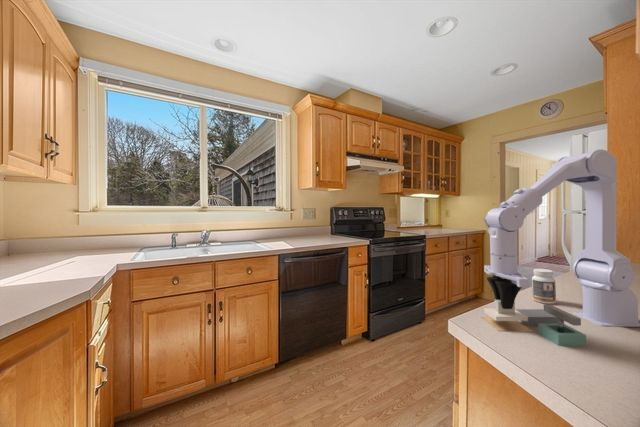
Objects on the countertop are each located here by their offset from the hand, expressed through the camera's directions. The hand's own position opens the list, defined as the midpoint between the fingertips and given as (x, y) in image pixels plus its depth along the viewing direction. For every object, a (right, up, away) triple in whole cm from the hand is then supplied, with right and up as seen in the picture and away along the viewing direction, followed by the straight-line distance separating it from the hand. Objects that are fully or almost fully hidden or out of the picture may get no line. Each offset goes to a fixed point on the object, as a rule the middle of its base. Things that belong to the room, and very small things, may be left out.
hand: (504, 306), depth 66 cm
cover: (0, -2, 0) cm, 2 cm away
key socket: (+7, -5, -8) cm, 12 cm away
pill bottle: (+23, -4, +15) cm, 28 cm away
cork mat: (0, -5, 0) cm, 5 cm away
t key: (+7, -4, -8) cm, 12 cm away
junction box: (+9, -4, +1) cm, 10 cm away
